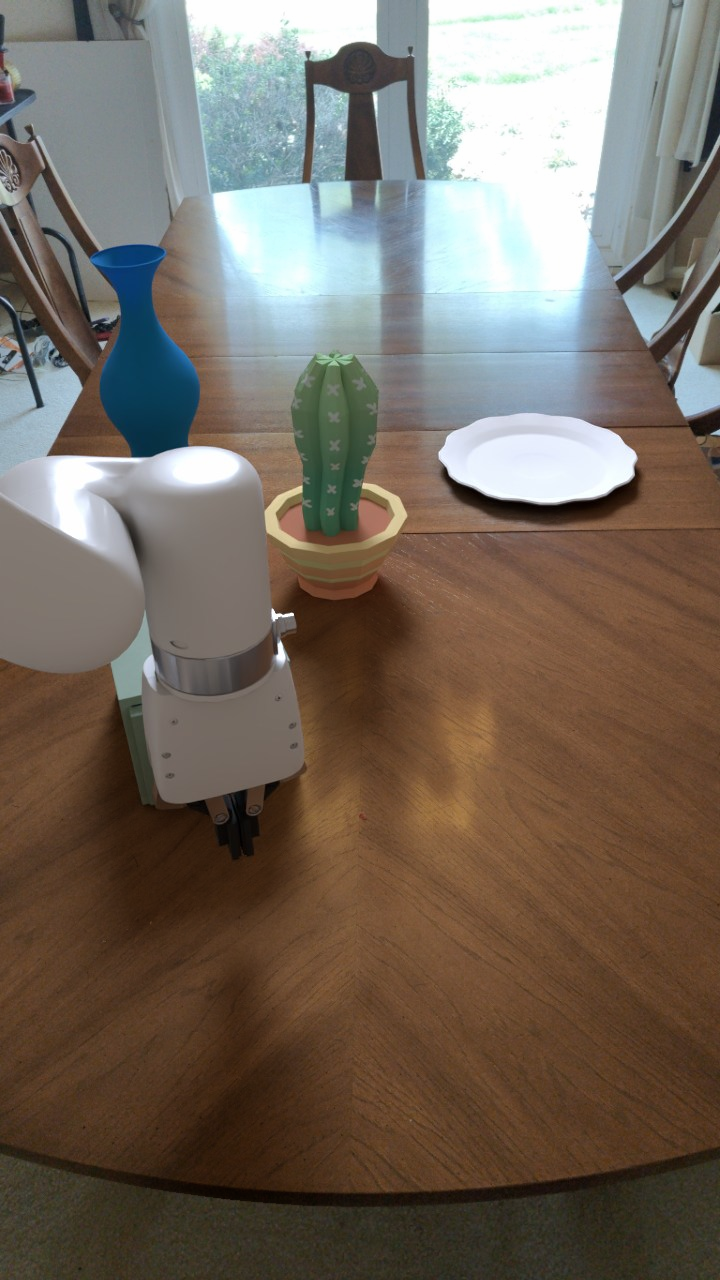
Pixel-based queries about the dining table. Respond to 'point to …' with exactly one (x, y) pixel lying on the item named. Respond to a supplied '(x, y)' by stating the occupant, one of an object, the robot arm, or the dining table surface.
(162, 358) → the vase
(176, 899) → the dining table surface
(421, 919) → the dining table surface
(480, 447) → the plate
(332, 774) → the dining table surface
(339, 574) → the potted cactus
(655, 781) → the dining table surface
